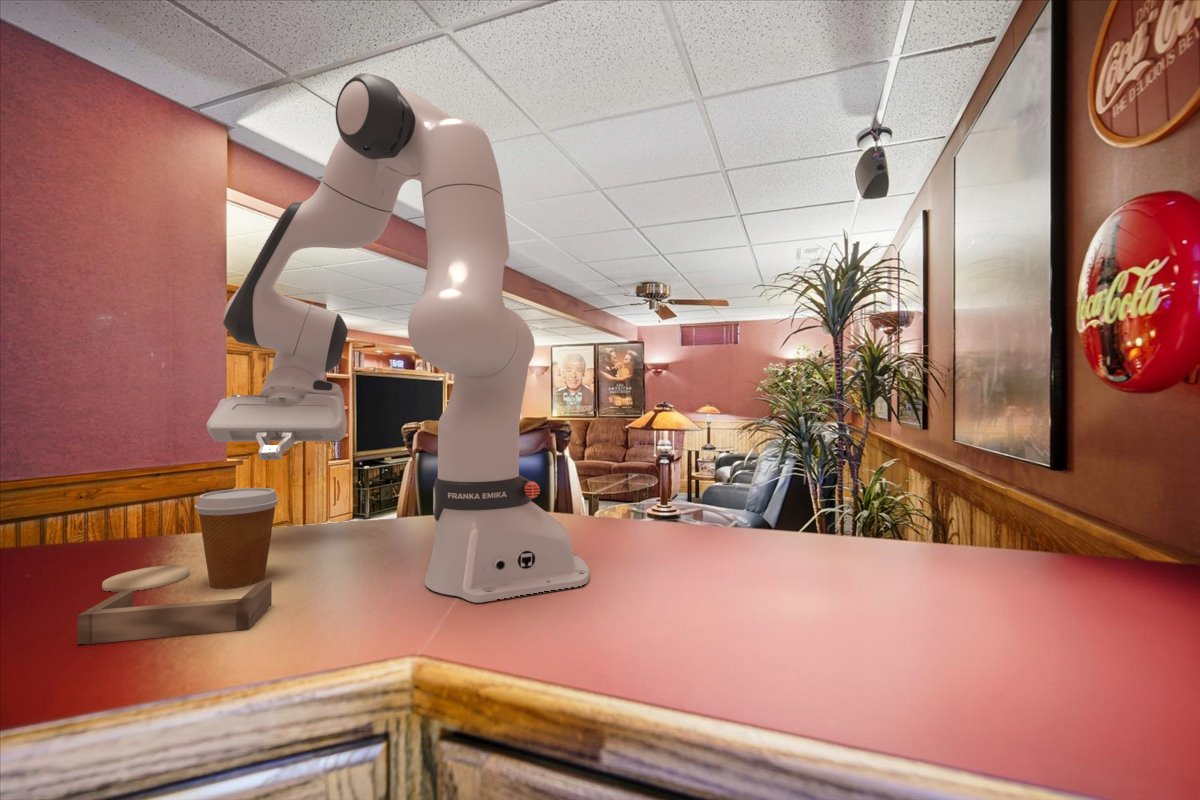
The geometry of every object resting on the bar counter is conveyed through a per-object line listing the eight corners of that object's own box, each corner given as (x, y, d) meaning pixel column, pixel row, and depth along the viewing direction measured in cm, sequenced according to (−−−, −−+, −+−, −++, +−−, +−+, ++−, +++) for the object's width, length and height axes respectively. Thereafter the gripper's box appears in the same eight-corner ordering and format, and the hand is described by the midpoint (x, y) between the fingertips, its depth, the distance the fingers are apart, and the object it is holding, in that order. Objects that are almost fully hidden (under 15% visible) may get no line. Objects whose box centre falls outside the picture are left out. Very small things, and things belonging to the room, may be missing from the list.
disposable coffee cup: (236, 595, 66) (237, 500, 66) (175, 590, 68) (175, 497, 68) (294, 571, 75) (295, 488, 75) (239, 567, 77) (239, 486, 77)
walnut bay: (271, 605, 63) (271, 580, 63) (248, 629, 56) (248, 601, 56) (120, 617, 59) (120, 591, 59) (77, 645, 53) (77, 615, 53)
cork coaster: (201, 567, 77) (201, 563, 77) (167, 588, 68) (167, 584, 68) (128, 572, 75) (128, 568, 75) (84, 594, 66) (84, 590, 66)
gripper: (217, 382, 88) (186, 445, 79) (349, 384, 93) (335, 444, 84) (228, 408, 92) (200, 470, 83) (354, 409, 97) (341, 468, 88)
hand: (269, 457), depth 83 cm, fingers closed
